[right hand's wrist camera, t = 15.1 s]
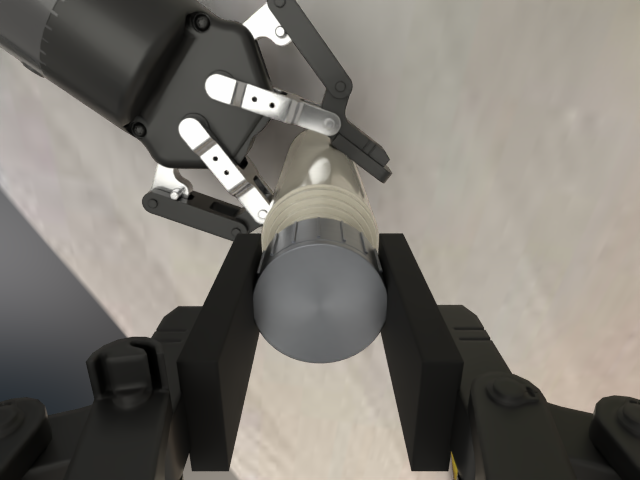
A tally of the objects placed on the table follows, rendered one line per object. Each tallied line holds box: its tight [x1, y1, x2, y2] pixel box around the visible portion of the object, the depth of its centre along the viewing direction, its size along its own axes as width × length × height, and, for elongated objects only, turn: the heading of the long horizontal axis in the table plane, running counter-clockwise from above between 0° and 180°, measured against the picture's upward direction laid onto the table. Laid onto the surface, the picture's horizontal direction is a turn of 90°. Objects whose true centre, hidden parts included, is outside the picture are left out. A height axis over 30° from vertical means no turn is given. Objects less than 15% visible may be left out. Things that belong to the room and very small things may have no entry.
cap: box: [253, 217, 388, 363], centre depth 14 cm, size 4×4×2 cm
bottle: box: [261, 129, 379, 250], centre depth 22 cm, size 4×4×20 cm
